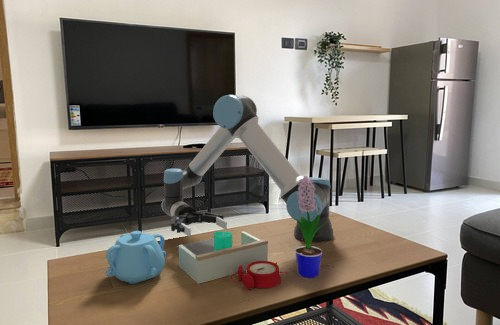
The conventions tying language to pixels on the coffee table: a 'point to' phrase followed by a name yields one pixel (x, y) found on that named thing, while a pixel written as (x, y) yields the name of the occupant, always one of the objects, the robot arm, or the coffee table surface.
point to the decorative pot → (136, 257)
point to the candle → (222, 240)
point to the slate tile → (200, 247)
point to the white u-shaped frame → (223, 259)
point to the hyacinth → (308, 231)
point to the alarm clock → (260, 275)
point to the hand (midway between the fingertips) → (208, 228)
